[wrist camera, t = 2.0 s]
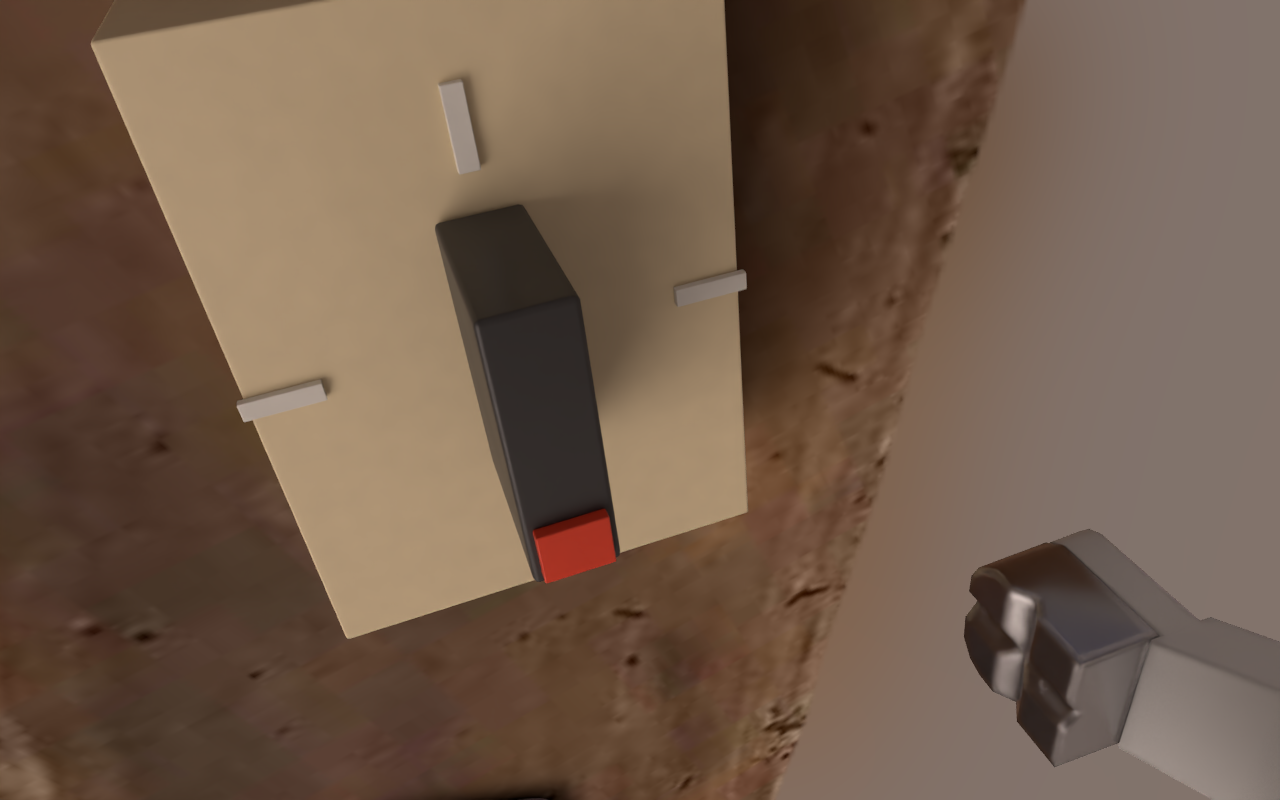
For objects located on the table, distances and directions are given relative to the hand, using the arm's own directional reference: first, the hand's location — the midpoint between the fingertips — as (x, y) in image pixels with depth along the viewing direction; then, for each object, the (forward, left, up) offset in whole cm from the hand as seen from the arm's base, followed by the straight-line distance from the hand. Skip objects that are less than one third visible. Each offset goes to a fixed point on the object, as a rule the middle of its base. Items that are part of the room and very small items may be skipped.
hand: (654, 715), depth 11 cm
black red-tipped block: (0, 0, -8) cm, 8 cm away
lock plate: (0, 0, -11) cm, 11 cm away
